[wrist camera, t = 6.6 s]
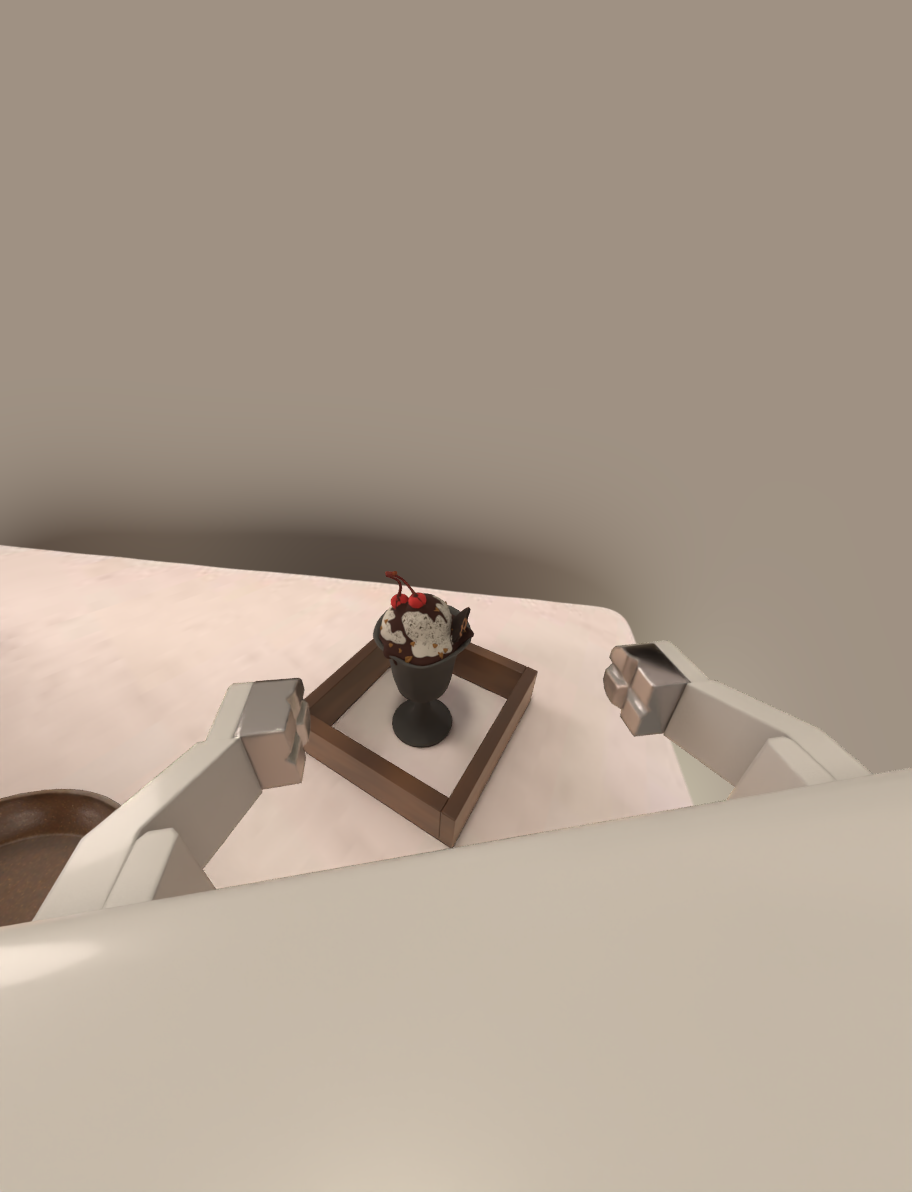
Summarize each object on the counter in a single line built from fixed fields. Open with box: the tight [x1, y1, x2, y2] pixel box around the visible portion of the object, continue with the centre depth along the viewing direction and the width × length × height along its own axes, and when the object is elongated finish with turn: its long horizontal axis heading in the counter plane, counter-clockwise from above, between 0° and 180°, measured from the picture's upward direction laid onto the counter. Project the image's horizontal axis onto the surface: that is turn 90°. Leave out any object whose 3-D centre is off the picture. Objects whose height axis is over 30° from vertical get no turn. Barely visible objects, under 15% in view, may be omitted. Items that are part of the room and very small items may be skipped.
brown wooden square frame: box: [303, 639, 538, 848], centre depth 32 cm, size 14×14×4 cm
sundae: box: [373, 571, 474, 747], centre depth 28 cm, size 7×7×15 cm
